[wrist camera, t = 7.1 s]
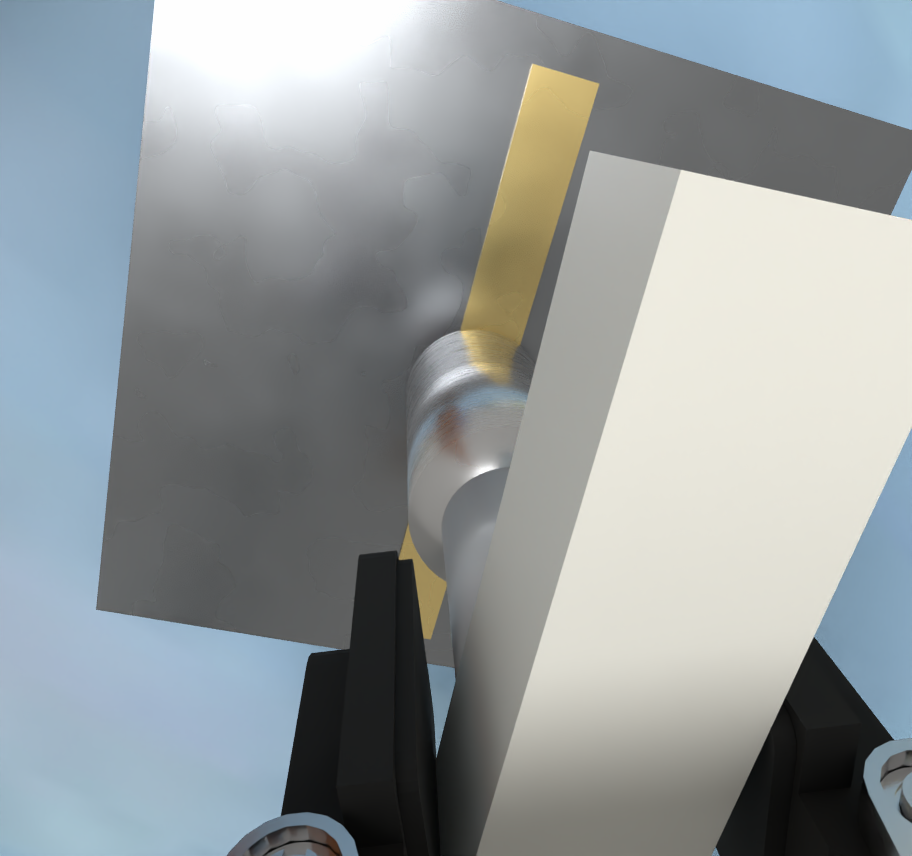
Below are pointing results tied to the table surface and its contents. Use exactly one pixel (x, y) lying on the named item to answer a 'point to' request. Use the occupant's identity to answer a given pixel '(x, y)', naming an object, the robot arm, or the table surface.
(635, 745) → the t handle
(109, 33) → the table surface
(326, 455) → the post base
